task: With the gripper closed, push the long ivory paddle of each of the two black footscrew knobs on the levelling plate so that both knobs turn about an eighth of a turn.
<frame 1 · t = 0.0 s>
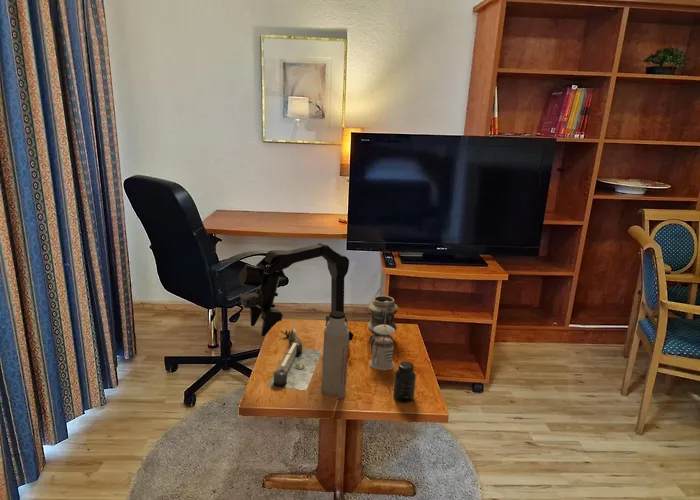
hand: (257, 330, 166), 15 cm above the table, tool pointing down, fingers open, 9 cm apart
apothecary jar: (381, 339, 201), on the table
french press: (380, 364, 180), on the table
thermos bottle: (333, 393, 159), on the table
eagle figurine: (291, 344, 192), on the table
knob b: (283, 369, 164), point 4 cm above the table, hinge at 0.0°
levelling plate: (296, 370, 172), on the table
supplement bottle: (403, 398, 159), on the table
knob a: (293, 350, 178), point 4 cm above the table, hinge at 0.0°
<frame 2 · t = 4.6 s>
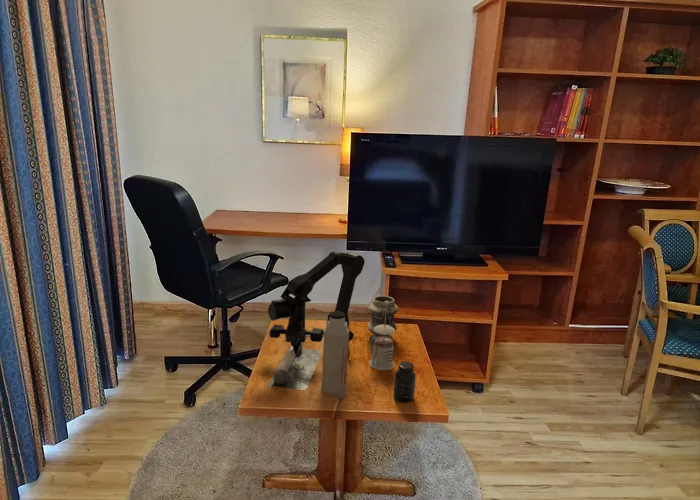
hand: (296, 354, 175), 4 cm above the table, tool pointing down, fingers closed
eagle figurine: (295, 346, 191), on the table
knob a: (293, 350, 178), point 4 cm above the table, hinge at -0.2°, touching gripper
everything else where it was.
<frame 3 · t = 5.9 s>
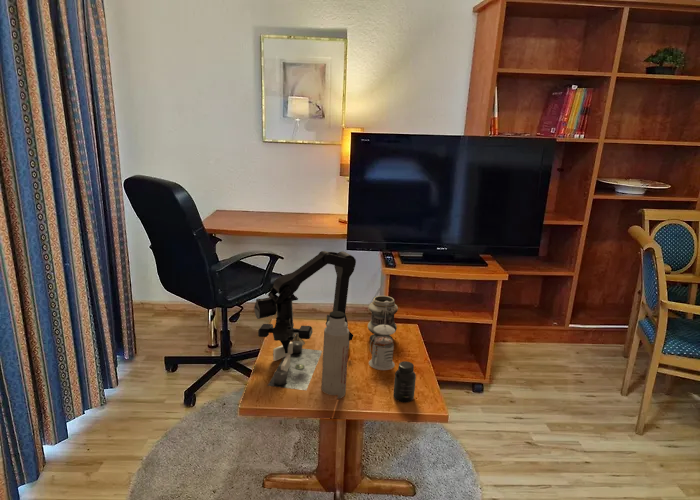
hand: (286, 352, 176), 4 cm above the table, tool pointing down, fingers closed
knob a: (287, 349, 179), point 4 cm above the table, hinge at -32.8°, touching gripper
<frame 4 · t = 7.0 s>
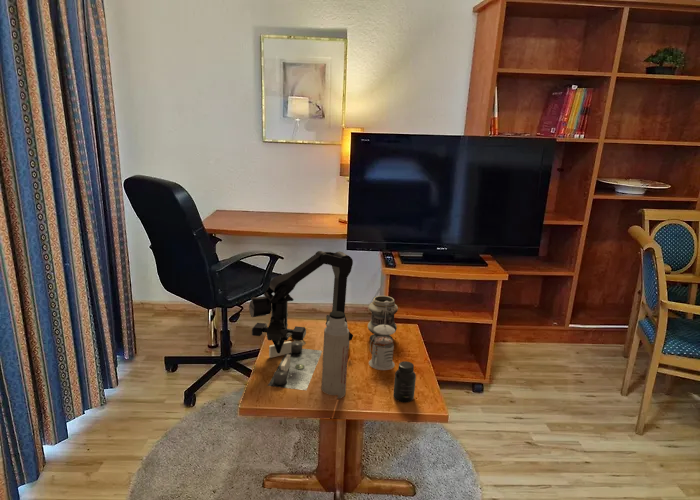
hand: (278, 352, 175), 4 cm above the table, tool pointing down, fingers closed
knob a: (286, 347, 180), point 4 cm above the table, hinge at -48.7°
everything else where it was.
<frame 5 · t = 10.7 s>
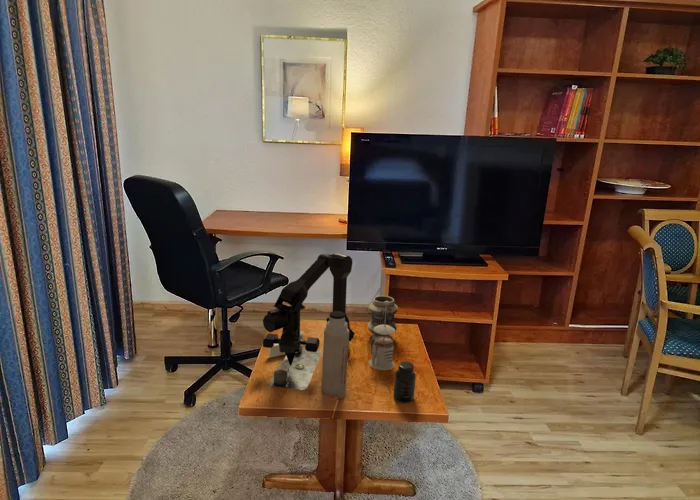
hand: (290, 365, 167), 4 cm above the table, tool pointing down, fingers closed
knob b: (283, 369, 164), point 4 cm above the table, hinge at 0.6°, touching gripper
knob a: (285, 347, 180), point 4 cm above the table, hinge at -49.4°
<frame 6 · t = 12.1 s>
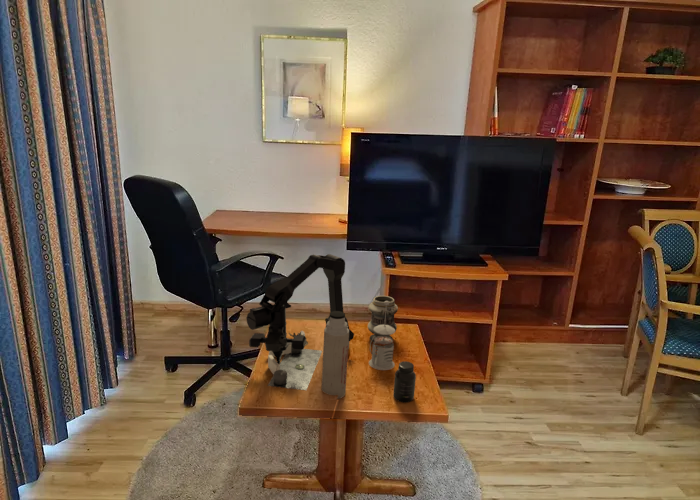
hand: (278, 363, 167), 4 cm above the table, tool pointing down, fingers closed
eagle figurine: (299, 347, 190), on the table, touching knob a
knob b: (276, 369, 164), point 4 cm above the table, hinge at 35.0°, touching gripper
knob a: (285, 347, 180), point 4 cm above the table, hinge at -49.5°, touching eagle figurine
everything else where it was.
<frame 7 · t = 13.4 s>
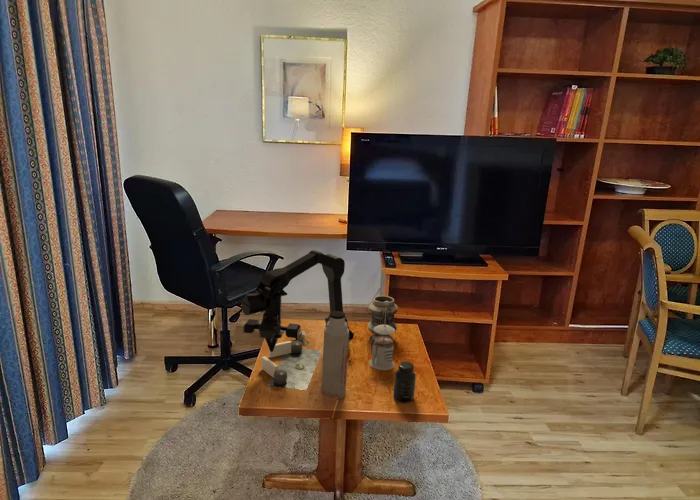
hand: (271, 351, 166), 9 cm above the table, tool pointing down, fingers closed
eagle figurine: (300, 347, 190), on the table
knob b: (273, 370, 163), point 4 cm above the table, hinge at 47.9°
knob a: (285, 347, 180), point 4 cm above the table, hinge at -49.5°
everything else where it was.
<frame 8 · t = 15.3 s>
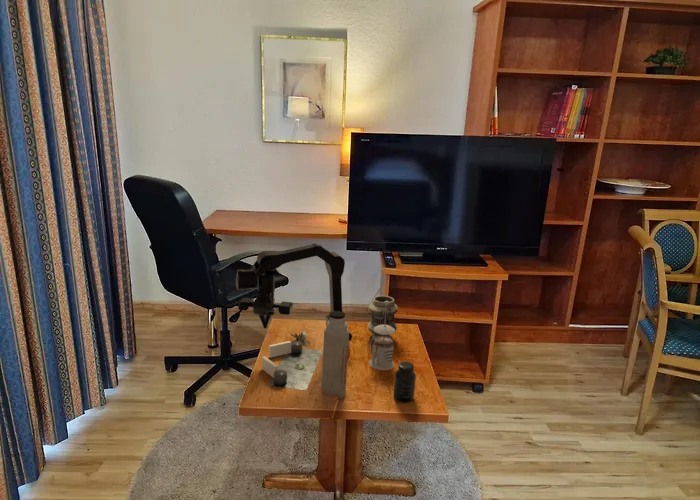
hand: (265, 328, 174), 13 cm above the table, tool pointing down, fingers closed
at the end: knob a at -50° (first picture: +0°); knob b at +48° (first picture: +0°) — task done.
